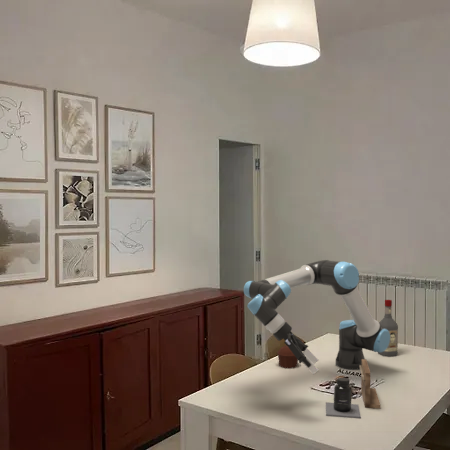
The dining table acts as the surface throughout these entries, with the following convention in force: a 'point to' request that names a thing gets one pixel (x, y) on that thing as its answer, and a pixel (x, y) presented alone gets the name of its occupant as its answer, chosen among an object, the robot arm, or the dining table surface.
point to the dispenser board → (368, 387)
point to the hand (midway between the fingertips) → (316, 367)
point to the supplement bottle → (342, 395)
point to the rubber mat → (351, 414)
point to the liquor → (390, 331)
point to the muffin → (287, 358)
